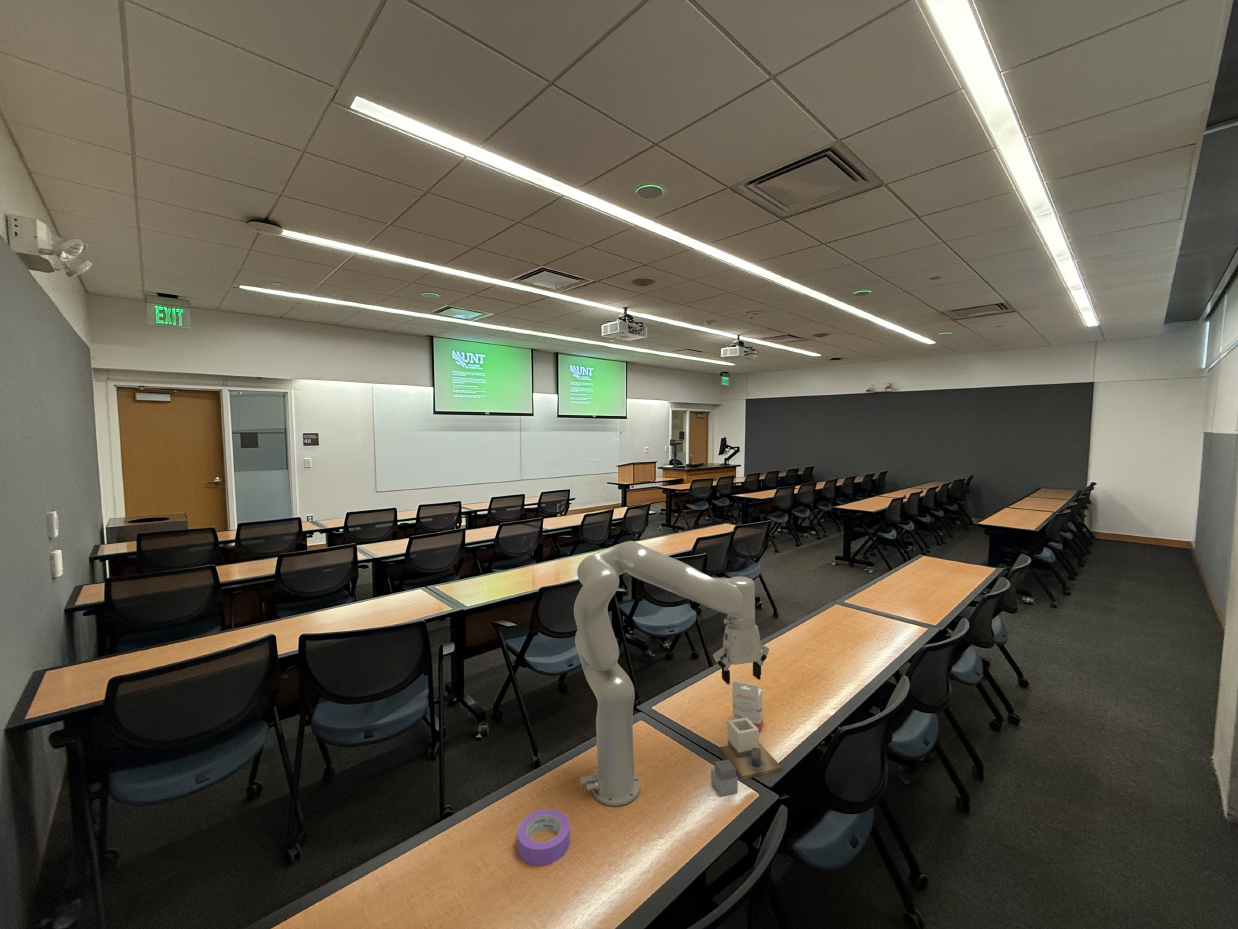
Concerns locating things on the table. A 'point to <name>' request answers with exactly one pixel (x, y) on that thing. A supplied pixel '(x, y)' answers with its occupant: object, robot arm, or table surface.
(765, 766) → the board
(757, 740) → the sleeve
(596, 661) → the robot arm
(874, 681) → the table surface
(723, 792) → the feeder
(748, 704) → the ink cartridge box
